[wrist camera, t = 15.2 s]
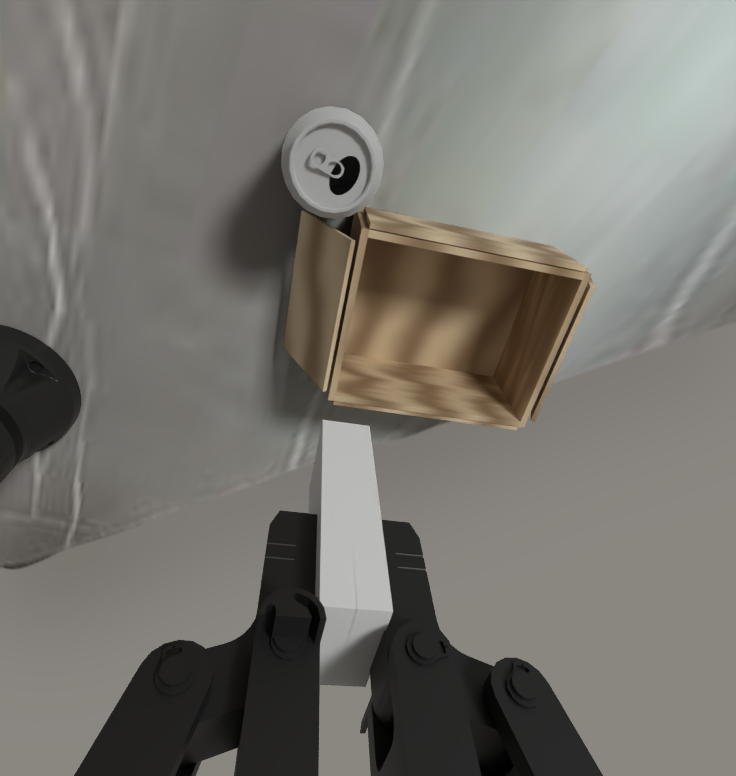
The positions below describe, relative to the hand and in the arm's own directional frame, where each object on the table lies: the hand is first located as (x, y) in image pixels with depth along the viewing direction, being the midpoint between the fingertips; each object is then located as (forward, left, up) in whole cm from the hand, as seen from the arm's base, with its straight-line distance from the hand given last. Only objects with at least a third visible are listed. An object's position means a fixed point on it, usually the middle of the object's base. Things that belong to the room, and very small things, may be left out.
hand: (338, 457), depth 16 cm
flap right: (+24, -6, -30) cm, 39 cm away
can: (-1, +6, -37) cm, 37 cm away
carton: (+12, -6, -36) cm, 39 cm away
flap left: (-1, -6, -30) cm, 31 cm away
